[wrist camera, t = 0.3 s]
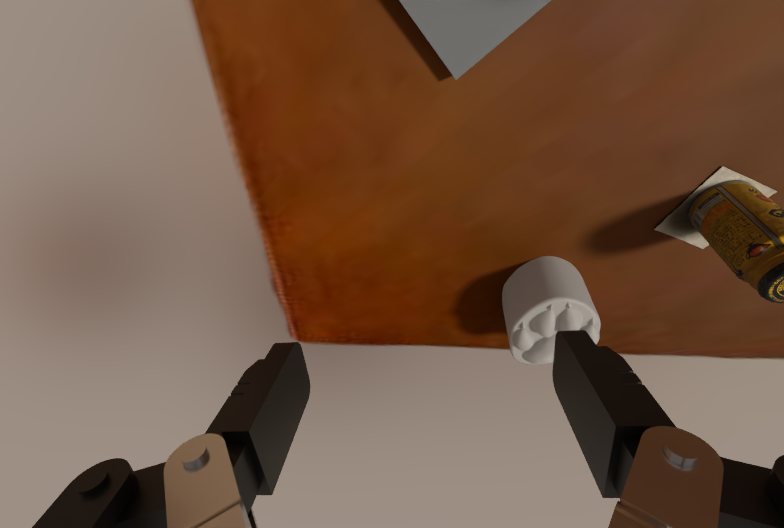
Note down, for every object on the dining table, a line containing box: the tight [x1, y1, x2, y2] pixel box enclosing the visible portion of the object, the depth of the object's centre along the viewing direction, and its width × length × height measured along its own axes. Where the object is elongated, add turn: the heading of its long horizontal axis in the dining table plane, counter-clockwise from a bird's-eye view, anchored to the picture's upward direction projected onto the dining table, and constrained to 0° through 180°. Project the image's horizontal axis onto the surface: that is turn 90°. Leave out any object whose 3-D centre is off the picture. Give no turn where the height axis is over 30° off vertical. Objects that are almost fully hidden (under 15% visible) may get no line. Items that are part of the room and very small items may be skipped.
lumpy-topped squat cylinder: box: [502, 256, 600, 365], centre depth 47 cm, size 10×13×9 cm
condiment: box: [654, 167, 784, 303], centre depth 36 cm, size 7×8×12 cm
